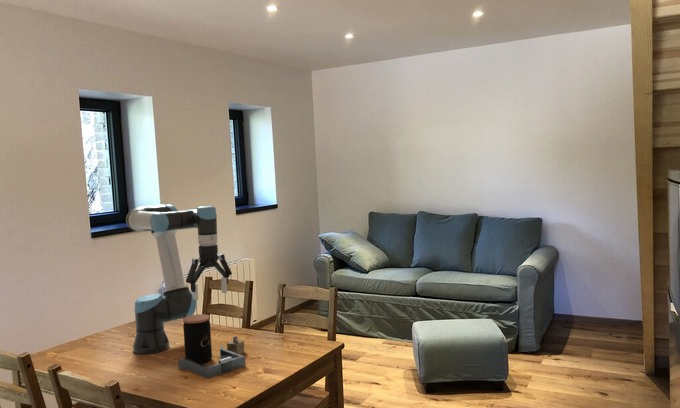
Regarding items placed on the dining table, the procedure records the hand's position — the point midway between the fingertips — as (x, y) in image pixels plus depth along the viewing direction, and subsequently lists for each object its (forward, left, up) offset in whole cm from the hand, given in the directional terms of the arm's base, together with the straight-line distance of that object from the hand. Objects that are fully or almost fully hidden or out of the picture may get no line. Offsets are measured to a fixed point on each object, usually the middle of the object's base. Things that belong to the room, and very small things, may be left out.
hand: (210, 296), depth 230 cm
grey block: (+1, +10, -27) cm, 28 cm away
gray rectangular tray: (+8, -5, -26) cm, 28 cm away
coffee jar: (-4, -5, -27) cm, 27 cm away
